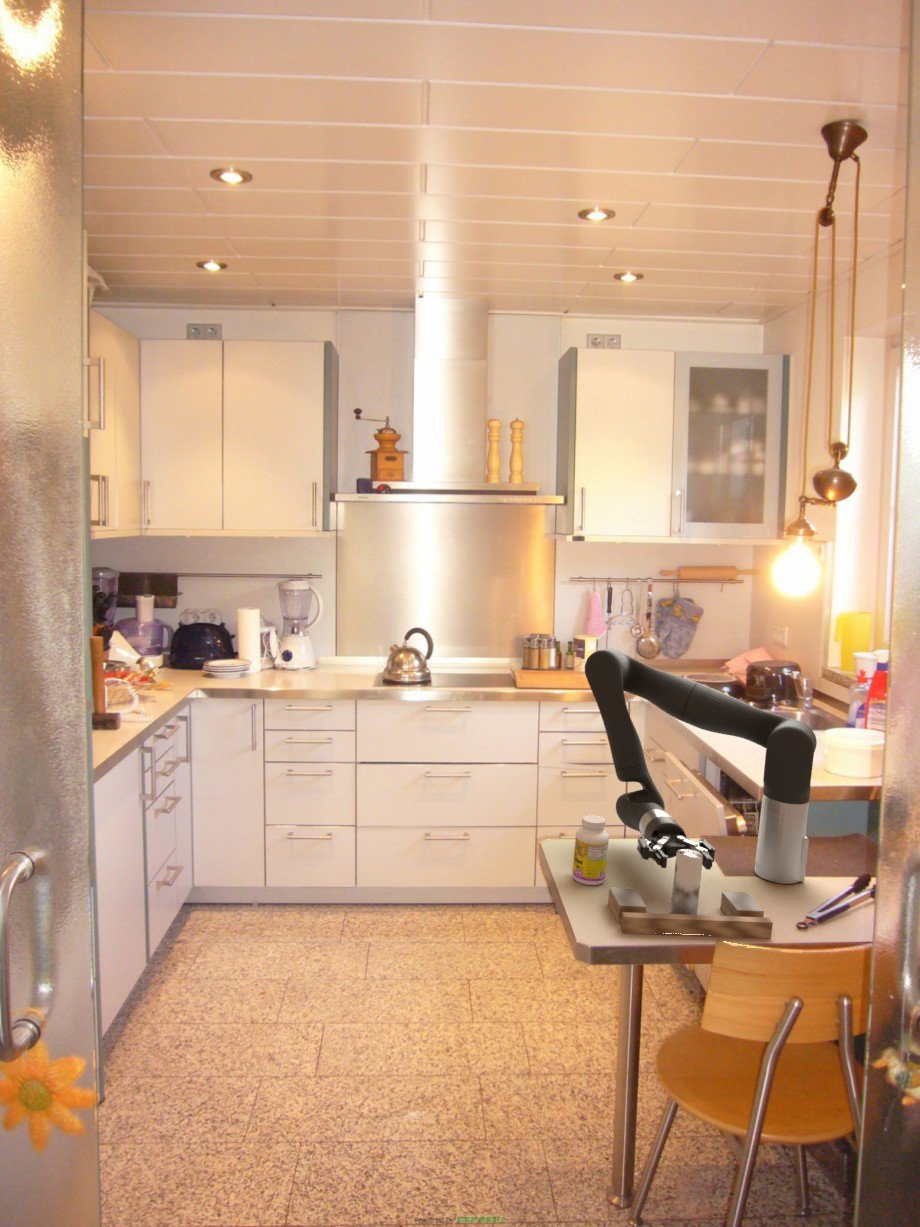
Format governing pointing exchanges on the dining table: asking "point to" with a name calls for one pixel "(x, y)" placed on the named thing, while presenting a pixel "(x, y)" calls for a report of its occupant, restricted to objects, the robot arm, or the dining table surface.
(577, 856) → the supplement bottle
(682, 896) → the link pin
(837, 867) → the dining table surface
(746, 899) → the rail with metal-top blocks
